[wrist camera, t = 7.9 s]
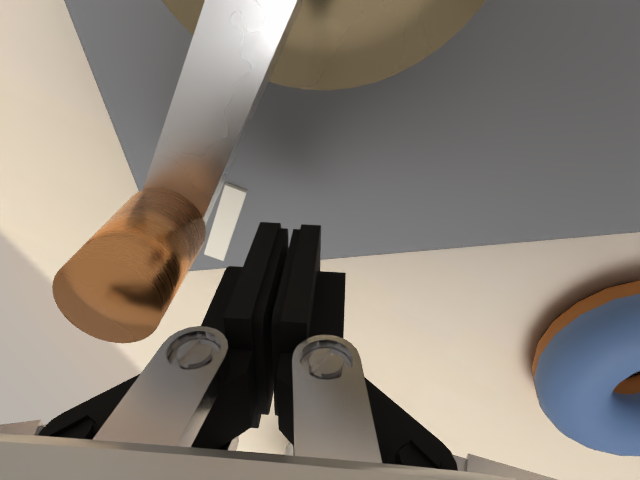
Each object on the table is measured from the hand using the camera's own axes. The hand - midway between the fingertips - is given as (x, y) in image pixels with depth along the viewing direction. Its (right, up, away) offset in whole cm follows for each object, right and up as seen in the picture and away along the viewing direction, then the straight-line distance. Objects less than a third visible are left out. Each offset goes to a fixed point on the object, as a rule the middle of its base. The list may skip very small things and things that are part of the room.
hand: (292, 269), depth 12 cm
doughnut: (+16, -4, +11) cm, 20 cm away
